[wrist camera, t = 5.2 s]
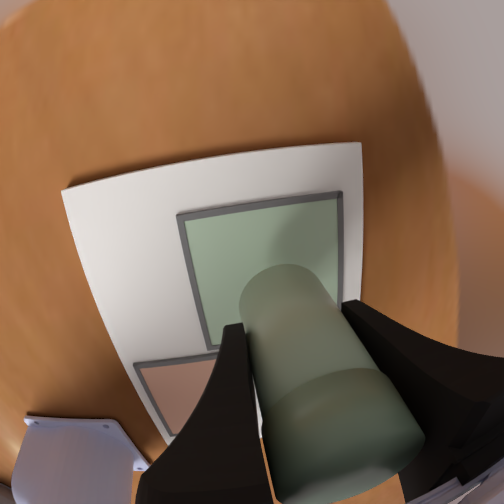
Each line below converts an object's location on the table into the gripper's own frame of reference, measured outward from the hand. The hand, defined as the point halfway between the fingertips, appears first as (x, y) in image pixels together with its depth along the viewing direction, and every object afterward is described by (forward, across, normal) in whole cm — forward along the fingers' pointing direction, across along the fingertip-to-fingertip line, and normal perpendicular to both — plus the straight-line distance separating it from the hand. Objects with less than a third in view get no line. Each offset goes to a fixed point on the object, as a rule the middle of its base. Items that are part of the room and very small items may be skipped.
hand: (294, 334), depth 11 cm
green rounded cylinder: (+2, 0, 0) cm, 2 cm away
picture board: (+5, +2, +4) cm, 7 cm away
